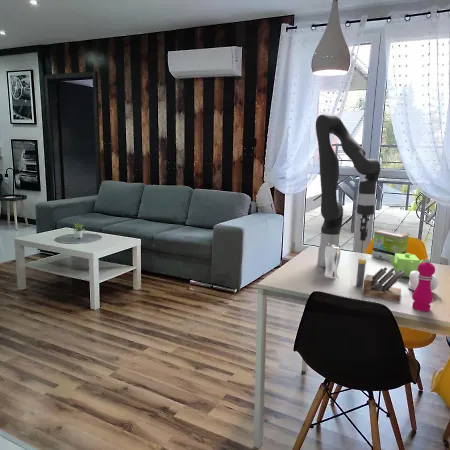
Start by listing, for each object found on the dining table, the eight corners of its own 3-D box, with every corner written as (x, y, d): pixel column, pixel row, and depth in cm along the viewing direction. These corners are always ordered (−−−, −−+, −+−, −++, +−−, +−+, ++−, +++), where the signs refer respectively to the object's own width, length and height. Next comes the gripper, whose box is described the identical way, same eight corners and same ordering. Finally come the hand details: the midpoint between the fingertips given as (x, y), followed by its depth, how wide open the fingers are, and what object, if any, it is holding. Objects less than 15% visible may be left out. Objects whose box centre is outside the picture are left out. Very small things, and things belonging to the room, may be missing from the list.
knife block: (362, 294, 174) (365, 268, 172) (365, 288, 182) (367, 263, 180) (401, 301, 168) (404, 274, 166) (402, 294, 176) (405, 268, 174)
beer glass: (339, 275, 198) (342, 245, 195) (336, 279, 192) (339, 248, 189) (324, 273, 201) (327, 243, 198) (321, 277, 195) (324, 246, 192)
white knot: (399, 286, 187) (401, 266, 185) (425, 286, 188) (427, 267, 186) (412, 295, 176) (414, 275, 174) (439, 295, 177) (442, 275, 175)
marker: (355, 286, 185) (358, 259, 182) (356, 283, 188) (359, 258, 185) (362, 287, 184) (365, 261, 181) (363, 285, 186) (366, 259, 184)
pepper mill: (407, 304, 165) (413, 255, 161) (424, 304, 166) (431, 256, 162) (417, 312, 158) (423, 261, 154) (435, 312, 159) (442, 261, 155)
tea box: (371, 256, 234) (374, 231, 231) (380, 254, 241) (382, 228, 238) (397, 263, 223) (400, 236, 220) (405, 260, 230) (409, 233, 227)
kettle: (409, 282, 192) (412, 259, 190) (382, 274, 203) (385, 252, 201) (427, 277, 200) (430, 254, 198) (400, 269, 212) (402, 248, 210)
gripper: (359, 201, 197) (356, 235, 199) (355, 204, 184) (353, 241, 186) (376, 202, 194) (373, 236, 196) (373, 205, 181) (371, 242, 184)
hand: (363, 238), depth 191 cm, fingers open, 8 cm apart
